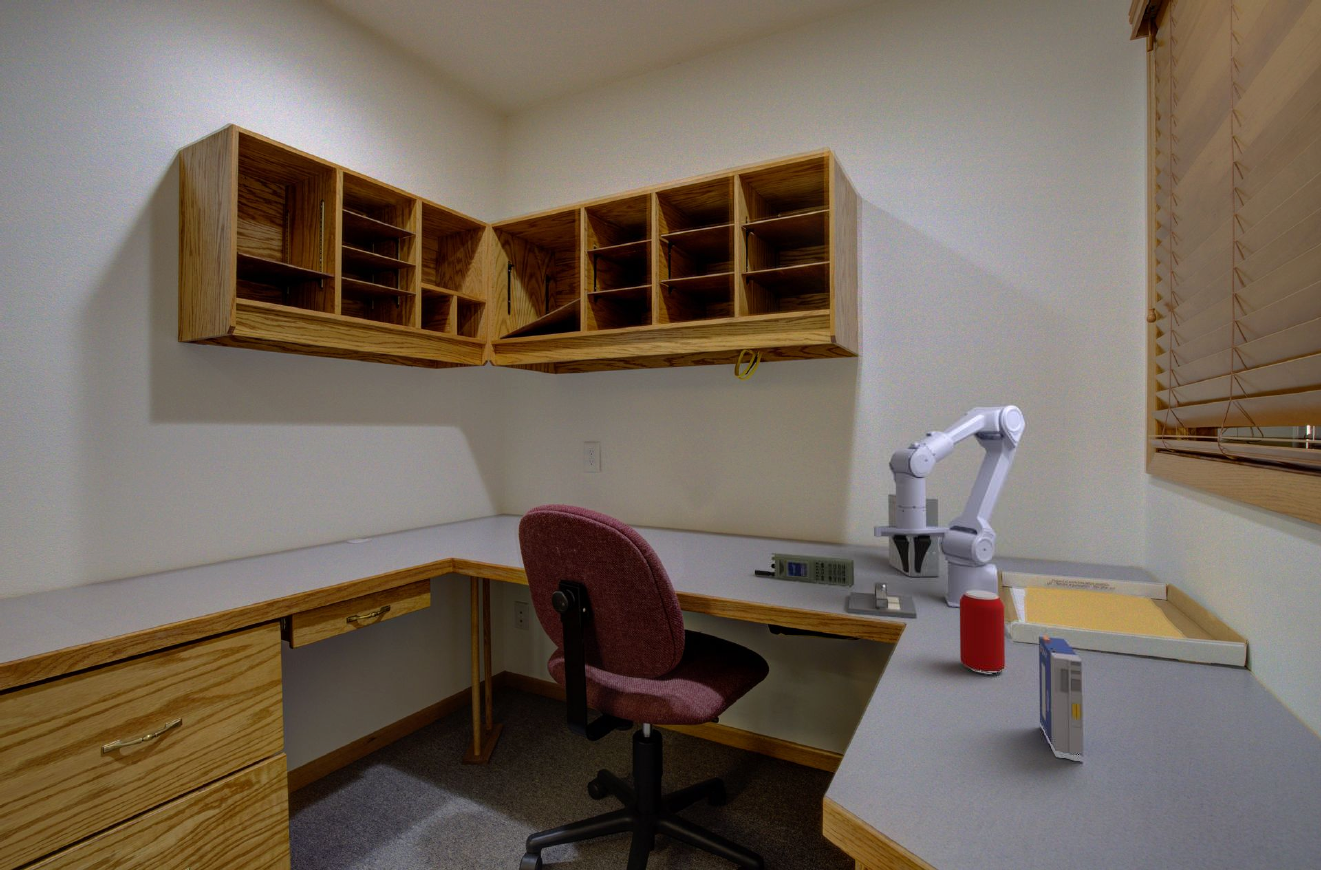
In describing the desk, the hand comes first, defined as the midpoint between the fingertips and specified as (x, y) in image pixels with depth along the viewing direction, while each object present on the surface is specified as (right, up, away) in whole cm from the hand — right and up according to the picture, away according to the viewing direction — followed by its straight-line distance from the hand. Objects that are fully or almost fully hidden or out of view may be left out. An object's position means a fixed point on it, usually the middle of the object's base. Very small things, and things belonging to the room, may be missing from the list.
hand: (911, 571), depth 124 cm
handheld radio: (-16, -9, +27) cm, 33 cm away
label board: (-5, -8, +4) cm, 11 cm away
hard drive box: (+15, -8, +36) cm, 40 cm away
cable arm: (-5, -7, +4) cm, 9 cm away
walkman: (-4, -9, -52) cm, 53 cm away
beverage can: (-1, -9, -30) cm, 31 cm away
